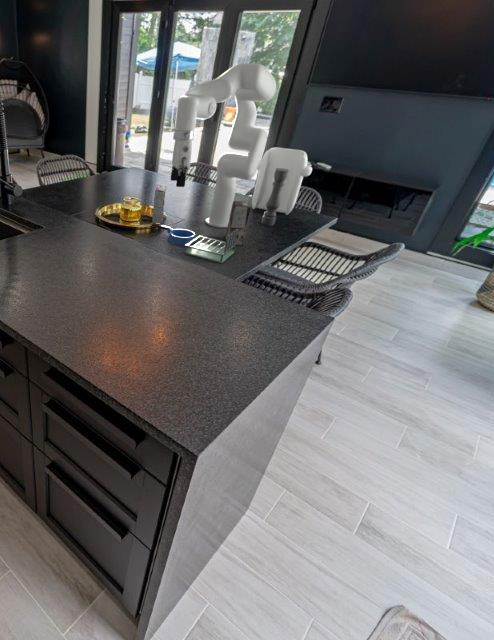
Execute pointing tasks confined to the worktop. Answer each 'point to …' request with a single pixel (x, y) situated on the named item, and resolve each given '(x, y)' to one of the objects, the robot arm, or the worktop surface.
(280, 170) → the candle holder
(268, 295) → the worktop surface
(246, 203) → the coffee box
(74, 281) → the worktop surface
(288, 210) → the toaster
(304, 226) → the worktop surface
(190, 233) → the pan
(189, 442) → the worktop surface
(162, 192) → the candy bar box
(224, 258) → the dish rack
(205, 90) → the robot arm
